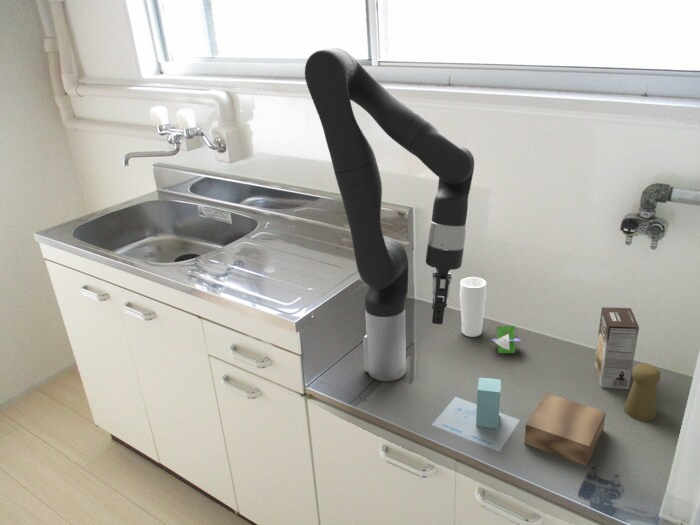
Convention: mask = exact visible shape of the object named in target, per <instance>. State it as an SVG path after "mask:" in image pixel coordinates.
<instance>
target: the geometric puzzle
mask: <svg viewBox="0 0 700 525" xmlns="http://www.w3.org/2000/svg"><path fill="white" fill-rule="evenodd" d="M494 331H495V332H496V333H497V334H496V333H495V332H494V333H493V335H492V336H493V337H491V338H490V340H491V341H492V343H493V345H494V346H495V350H496V352H497V354H516V351H517V350H516V349H517V348H518V347H519V346H520V345H519V346H518V344H520V343H521V342H522V340H521V337H520V338H519V337H516V336H515V335H518V332H517V330H516V327H515V325H511V326H505V325H504V326H497V327H496V328H495V330H494ZM494 334H495V335H494ZM496 336H497V338H496ZM516 342H518V343H516ZM515 343H516V344H515ZM496 344H497V346H496ZM517 346H518V347H517ZM516 347H517V348H516Z"/></svg>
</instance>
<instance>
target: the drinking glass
mask: <svg viewBox="0 0 700 525" xmlns="http://www.w3.org/2000/svg"><path fill="white" fill-rule="evenodd" d="M486 300H487V281H486V280H485V279H483V278H482V277H477V276H469V277H465V278H462V279H461V280H460V283H459V303H460V317H461V318H460V320H461V321H460V322H461V333H462V334H463V335H464V336H466V337H469V338H475V337H479V336H481V335H482V333H483V323H484V322H483V321H484V316H485V314H484V313H485V307H486V302H487V301H486Z"/></svg>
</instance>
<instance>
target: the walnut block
mask: <svg viewBox="0 0 700 525" xmlns="http://www.w3.org/2000/svg"><path fill="white" fill-rule="evenodd" d="M606 413H607V411H605V410H603V409H599V408H596V407H592V406H588V405H586V404H582V403H578V402H576V401H573V400H569V399H565V398H563V397H560V396H557V395H553V394H550V393H547V392H546V393H544V396H543V397H542V398H541V400H540V402H539V403H538V405H537V406H536V407H535V409H534V411H533V413H532V414H531V415H530V417H529V419H528V420H527V422H526V424H525V430H524V444H526V445H528V446H530V447H534V448H536V449H539V450H541V451H544V452H547V453H549V454H552V455H556V456H558V457H561V458H563V459H566V460H570V461H571V462H575V463H577V464H581V465H583V466H586V467H587V465H588V463H589V461H590V459H591V458H592V455H593V453H594V451H595V448H596V446H597V444H598V442H599V441H600V437H601V436H602V433H603V432H604V427H605V421H606V420H605V419H606V415H607V414H606Z"/></svg>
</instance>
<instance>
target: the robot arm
mask: <svg viewBox="0 0 700 525" xmlns="http://www.w3.org/2000/svg"><path fill="white" fill-rule="evenodd" d="M304 79H305V83H306V86H307V89H308V92H309V94H310V96H311V99H312V101H313V104H314V106H315V110H316V113H317V115H318V118H319V120H320V123H321V126H322V129H323V133H324V138H325V140H326V141H325V142H326V145H327V149H328V152H329V156H330V159H331V164H332V168H333V172H334V175H335V179H336V183H337V186H338V189H339V192H340V196H341V199H342V203H343V206H344V210H345V215H346V218H347V222H348V226H349V229H350V230H349V231H350V233H351V239H352V246H353V251H354V253H353V254H354V257H355V264H356V265H355V266H356V268H357V272H358V274H359V277H360V278H361V280H362V281H363V283H364V284H365V285H367V287H368V291H367V293H366V294H365V297H364V309H365V310H364V311H365V313H364V314H365V332H366V333H365V335H364V336H363V338H362V341H363V342H362V343H363V344H362V346H363V365H364V367H363V368H364V372H366V373H368V374H369V376H370V377H371V378H372V379H374V380H376V381H381V382H393V381H396V380H400V379H401V378H402V377H404V376H405V375H406V372H407V362H406V360H407V358H406V357H407V354H406V353H407V352H406V350H407V348H406V346H407V345H406V299H407V296H408V291H409V290H408V289H409V288H408V287H409V259H408V254H407V252H406V249H405V247H404V246H403V244H401V242H399V241H398V240H395V239H393V238H385V237H384V234H383V230H382V223H381V222H382V220H381V219H382V218H381V215H382V214H381V211H382V200H383V199H382V196H383V193H382V192H383V186H382V178H381V173H380V171H379V166H378V162H377V158H376V155H375V152H374V149H373V147H372V146H371V144H370V142H369V141H368V138H367V137H366V135H365V134H364V132H363V131H362V129H361V127H360V125H359V123H358V122H357V119H356V116H355V114H354V110H353V107H352V103H353V102H354V103H355V104H357V106H359V107H361V108H362V109H363V110H364V111H365V112H366V113H368V114H369V116H371V118H372V119H373V120H374V121H375V123H377V125H378V126H379V127H380V129H381V130H382V131H383V132H384V133H385V134H387V136H388V137H389V138H391V139H392V140H393V141H394V142H396V143H397V144H398V145H399V146H400V147H402V148H403V149H404V150H406V151H407V152H408V153H410V154H412V155H413V156H415V157H416V158H417V159H419V161H420V162H422V163H423V164H424V166H426V167H427V168H428V169H429V171H431V172H432V173H433V174H435V176H437V178H438V185H437V191H436V192H437V193H436V196H435V197H434V201H433V207H432V214H431V221H430V226H429V231H428V238H427V239H428V240H427V245H426V246H427V247H426V253H425V254H426V255H425V263H426V265H428V266H429V267H430V268H435V271H432V273H431V274H432V278H431V287H432V289H431V293H432V294H431V296H432V304H431V305H432V306H431V309H432V318H431V323H432V324H433V325H443V324H444V323H443V321H444V314H445V309H446V308H447V306H448V304H447V300H448V297H449V296H450V289H451V285H452V273H449V271H451V270H452V271H453V270H459V269H460V268H461V267H462V263H463V257H464V249H465V240H466V223H467V216H468V206H469V195H470V191H471V186H472V182H473V175H474V170H475V159H474V155H473V154H472V152H471V151H470V150H469V149H468V148H467V147H464V146H461V145H456V144H454V142H453V141H450V140H449V139H448V138H446V137H445V136H444V135H442V134H441V133H440V131H439V130H438V129H437V127H435V126H434V125H433V124H432V123H431V122H429V121H428V120H427V119H426V118H424V117H423V116H421V115H420V114H419V113H417V112H416V111H415V110H413V109H412V108H410V107H409V106H408V105H406V104H405V103H404V102H402V101H401V100H400V99H399V98H397V97H396V96H395V95H394V94H392V93H390V91H389V90H387V89H386V88H385V87H384V86H383V85H382V84H381V83H380V82H379V81H378V80H376V79H375V78H374V77H373V76H372V75H371V73H369V72H368V71H367V69H366V68H365V67H364V66H363V65H362V64H361V63H360V62H359V61H358V60H357V59H356V58H355V57H354V56H353V55H352V54H351V53H350V52H348V51H347V50H345V49H343V48H337V47H333V48H327V49H320V50H316V51H315V52H313V53H312V54H311V55H309V57H308V58H307V60H306V62H305V67H304ZM351 101H352V102H351Z"/></svg>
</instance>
